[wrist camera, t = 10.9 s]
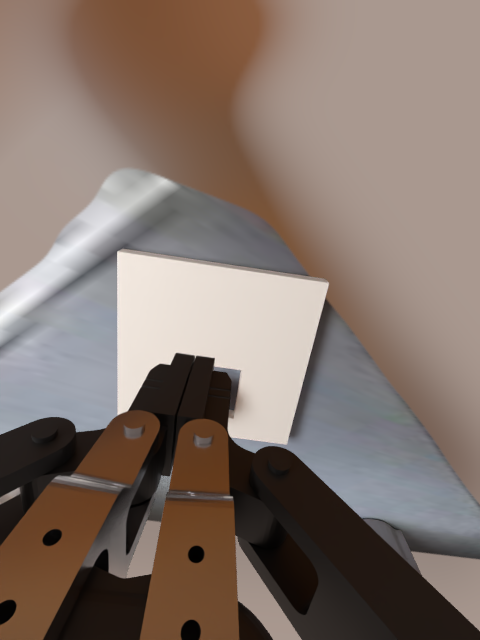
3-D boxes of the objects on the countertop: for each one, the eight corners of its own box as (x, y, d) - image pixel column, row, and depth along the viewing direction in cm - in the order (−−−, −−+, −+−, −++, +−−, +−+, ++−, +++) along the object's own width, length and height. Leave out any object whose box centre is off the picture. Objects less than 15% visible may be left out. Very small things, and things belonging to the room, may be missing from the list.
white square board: (325, 278, 31) (329, 283, 30) (285, 435, 39) (286, 444, 37) (123, 248, 30) (117, 251, 29) (122, 414, 38) (117, 422, 37)
